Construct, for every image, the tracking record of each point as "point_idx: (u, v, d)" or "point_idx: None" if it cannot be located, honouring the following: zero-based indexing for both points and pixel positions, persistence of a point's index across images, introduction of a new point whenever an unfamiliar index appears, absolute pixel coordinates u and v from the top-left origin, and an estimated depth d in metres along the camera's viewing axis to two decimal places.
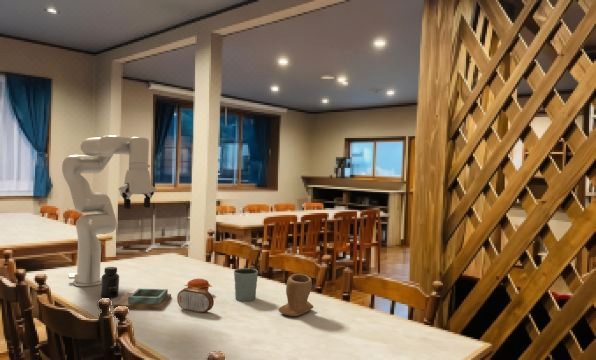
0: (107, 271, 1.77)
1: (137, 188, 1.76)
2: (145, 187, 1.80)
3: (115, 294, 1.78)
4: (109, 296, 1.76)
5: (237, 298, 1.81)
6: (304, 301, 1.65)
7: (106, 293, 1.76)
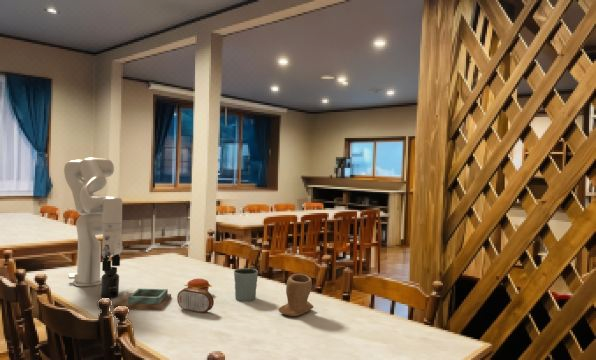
0: (107, 271, 1.77)
1: None
2: None
3: (115, 294, 1.78)
4: (109, 296, 1.76)
5: (237, 298, 1.81)
6: (304, 301, 1.65)
7: (106, 293, 1.76)
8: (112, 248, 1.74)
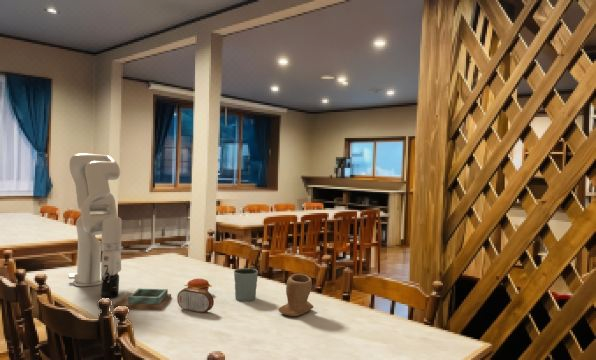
0: None
1: None
2: None
3: (115, 294, 1.78)
4: (109, 296, 1.76)
5: (237, 298, 1.81)
6: (304, 301, 1.65)
7: (106, 293, 1.76)
8: (111, 268, 1.74)
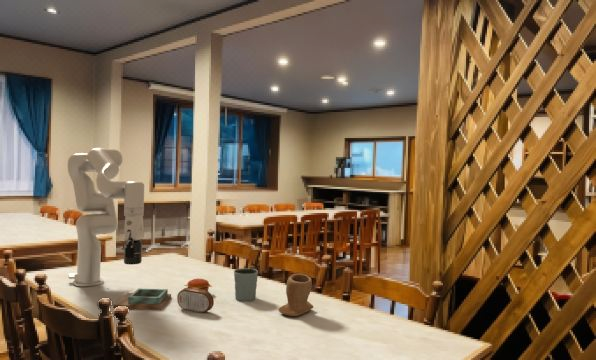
0: None
1: None
2: None
3: (138, 260, 1.73)
4: (132, 262, 1.72)
5: (237, 298, 1.81)
6: (304, 301, 1.65)
7: (129, 258, 1.72)
8: (134, 233, 1.70)
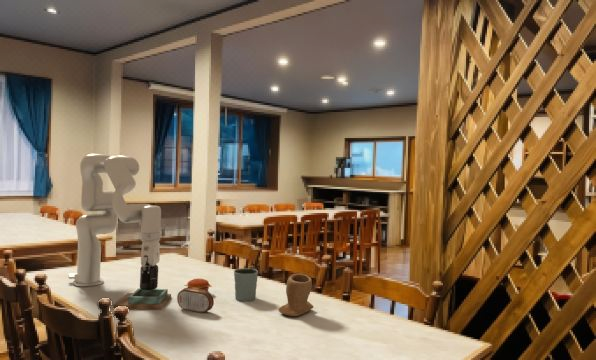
0: None
1: None
2: None
3: (155, 285, 1.71)
4: (149, 287, 1.70)
5: (237, 298, 1.81)
6: (304, 301, 1.65)
7: (146, 284, 1.69)
8: (151, 259, 1.68)
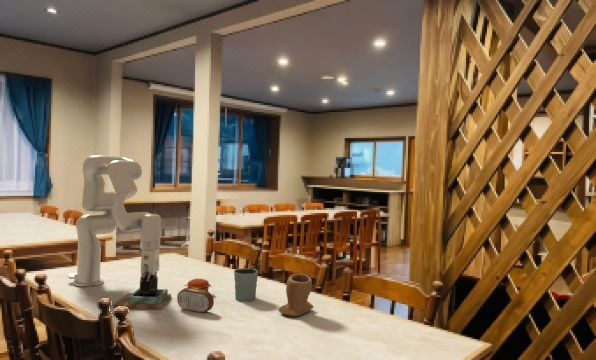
0: None
1: None
2: None
3: (154, 296, 1.72)
4: None
5: (237, 298, 1.81)
6: (304, 301, 1.65)
7: (145, 295, 1.70)
8: (151, 268, 1.68)
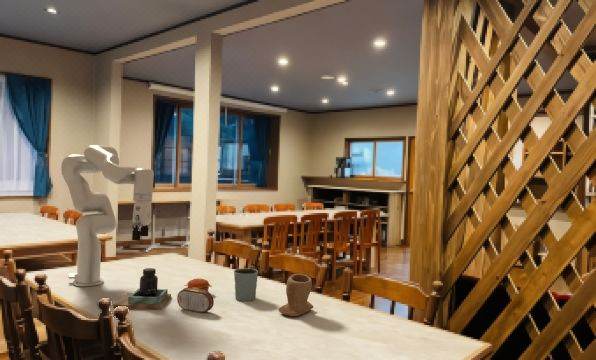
0: (146, 273, 1.71)
1: None
2: None
3: (154, 296, 1.72)
4: None
5: (237, 298, 1.81)
6: (304, 301, 1.65)
7: (145, 295, 1.70)
8: (142, 218, 1.76)
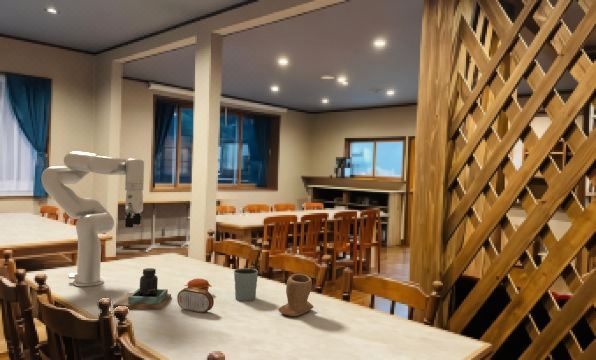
0: (146, 273, 1.71)
1: None
2: None
3: (154, 296, 1.72)
4: None
5: (237, 298, 1.81)
6: (304, 301, 1.65)
7: (145, 295, 1.70)
8: (135, 206, 1.85)
